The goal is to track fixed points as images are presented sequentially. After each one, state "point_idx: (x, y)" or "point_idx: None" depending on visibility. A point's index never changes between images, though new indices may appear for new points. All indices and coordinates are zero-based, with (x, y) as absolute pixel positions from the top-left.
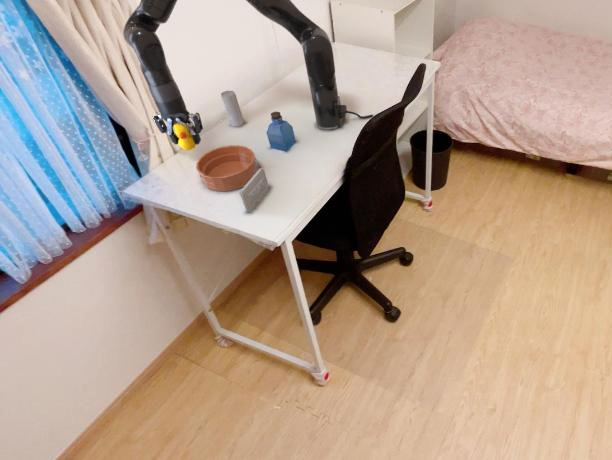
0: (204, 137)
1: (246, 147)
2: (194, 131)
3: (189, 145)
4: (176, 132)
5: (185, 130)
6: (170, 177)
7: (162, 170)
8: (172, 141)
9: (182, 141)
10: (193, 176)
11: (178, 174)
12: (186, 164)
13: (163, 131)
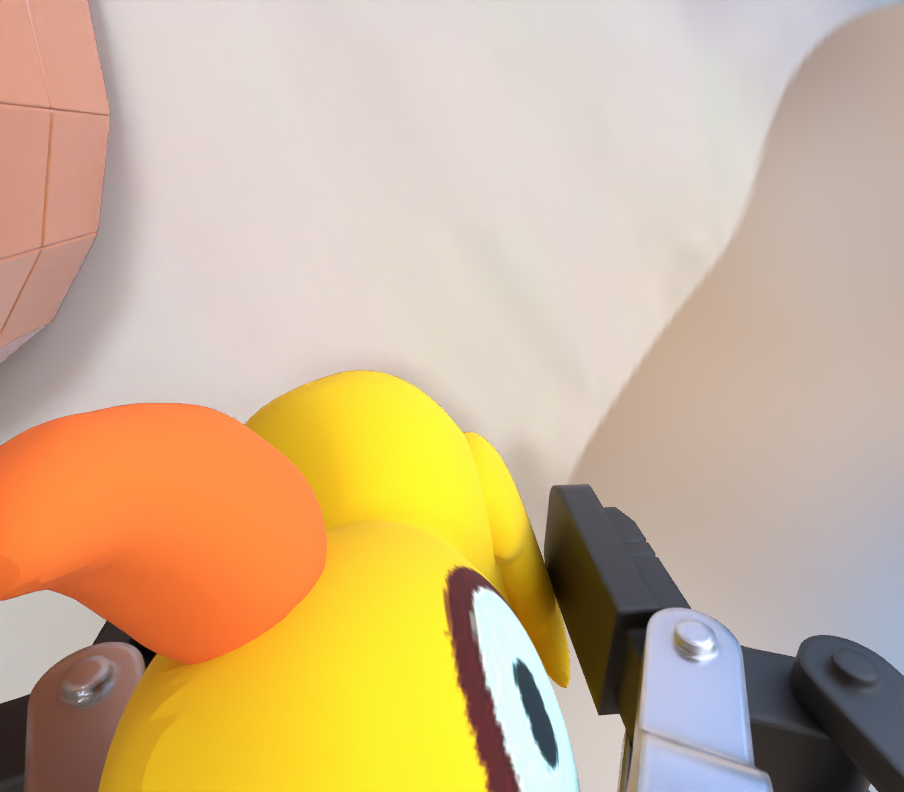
0: None
1: None
2: (30, 741)
3: (260, 414)
4: (401, 638)
5: (113, 750)
6: (553, 10)
7: (687, 178)
8: (624, 522)
9: (362, 459)
10: (249, 21)
11: (471, 81)
12: (447, 297)
13: (828, 677)
